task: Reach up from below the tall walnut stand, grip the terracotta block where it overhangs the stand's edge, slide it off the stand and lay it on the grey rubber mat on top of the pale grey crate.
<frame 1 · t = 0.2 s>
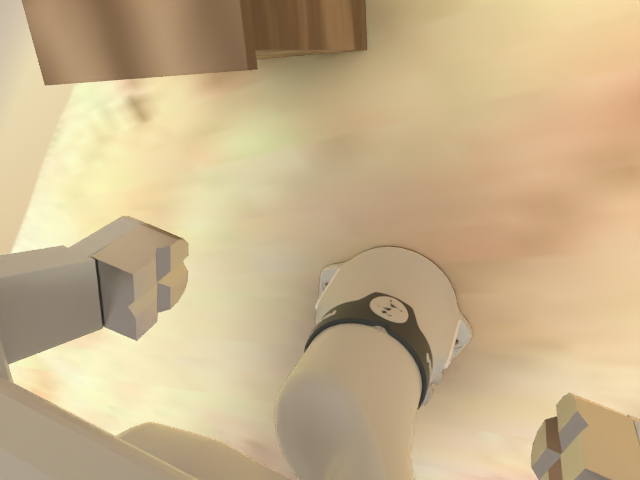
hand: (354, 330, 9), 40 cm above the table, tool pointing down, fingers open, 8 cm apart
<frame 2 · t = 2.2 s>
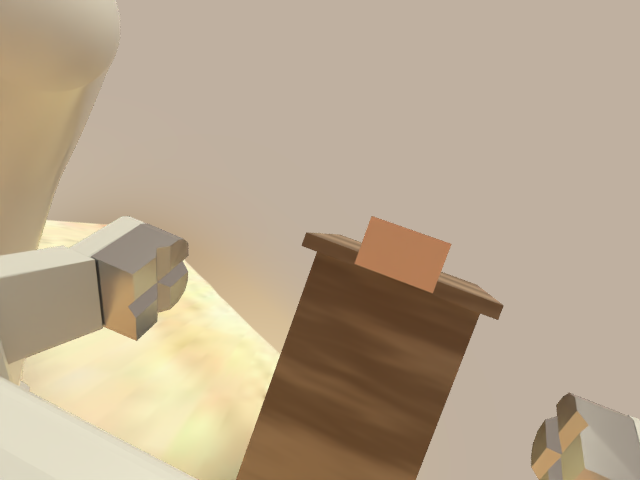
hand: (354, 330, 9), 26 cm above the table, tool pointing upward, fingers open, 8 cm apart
terracotta block: (401, 265, 33), point 26 cm above the table, touching walnut stand
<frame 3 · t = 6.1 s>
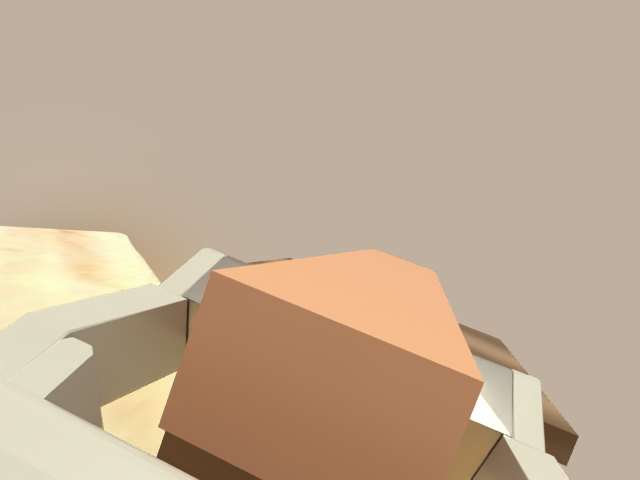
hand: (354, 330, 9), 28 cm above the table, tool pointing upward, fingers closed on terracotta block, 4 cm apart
terracotta block: (369, 331, 18), point 26 cm above the table, touching gripper, walnut stand
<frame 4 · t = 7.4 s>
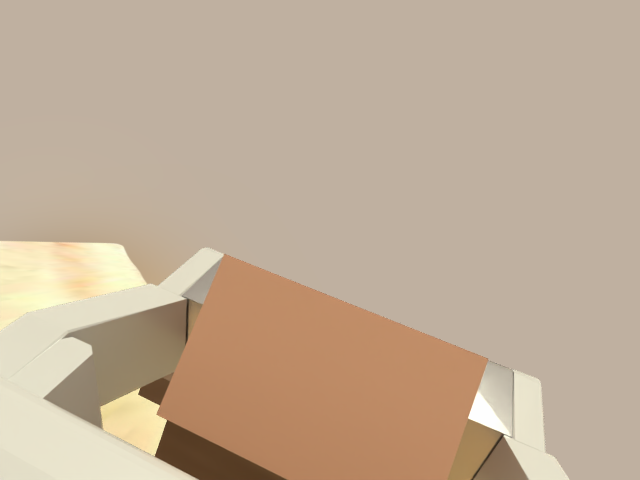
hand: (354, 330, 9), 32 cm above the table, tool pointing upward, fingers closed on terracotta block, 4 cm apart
terracotta block: (351, 377, 17), point 28 cm above the table, tilted 11°, touching gripper, walnut stand
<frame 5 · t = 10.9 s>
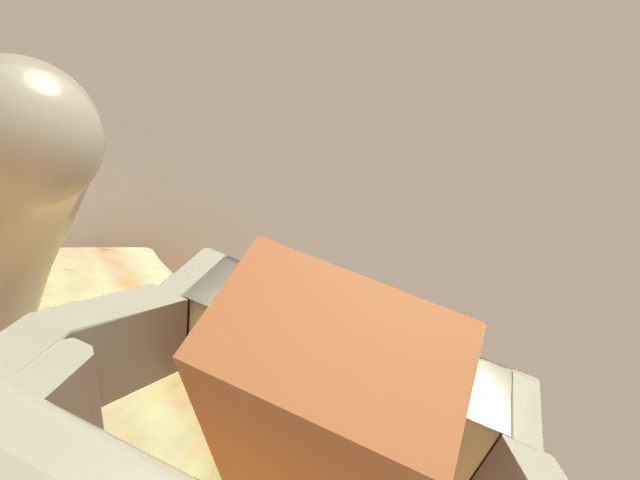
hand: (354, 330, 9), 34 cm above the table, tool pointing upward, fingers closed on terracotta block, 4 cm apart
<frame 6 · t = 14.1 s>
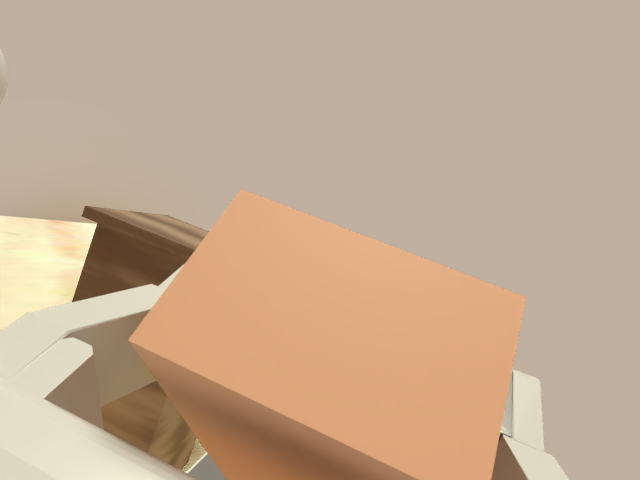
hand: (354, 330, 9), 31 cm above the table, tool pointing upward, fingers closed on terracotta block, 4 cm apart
walnut stand: (111, 463, 48), on the table
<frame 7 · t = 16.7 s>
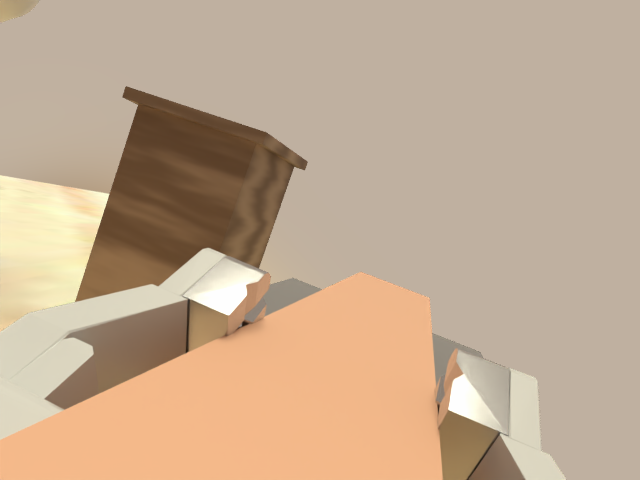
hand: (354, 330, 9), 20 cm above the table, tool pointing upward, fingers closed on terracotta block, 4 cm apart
walnut stand: (147, 366, 48), on the table
terracotta block: (342, 393, 14), point 17 cm above the table, touching grey crate, gripper
when the fingers open (20 cm above the table, at t = 16.9 s): terracotta block stays where it is, resting on grey crate.
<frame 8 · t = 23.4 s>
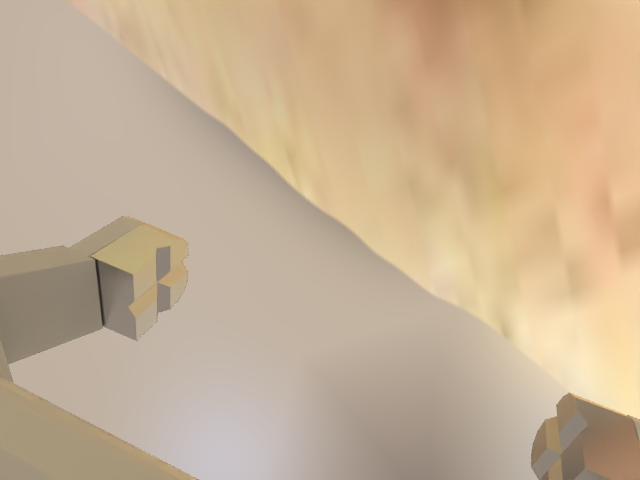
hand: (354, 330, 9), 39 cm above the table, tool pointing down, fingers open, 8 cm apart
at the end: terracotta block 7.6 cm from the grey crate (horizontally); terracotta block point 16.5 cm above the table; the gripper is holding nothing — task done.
